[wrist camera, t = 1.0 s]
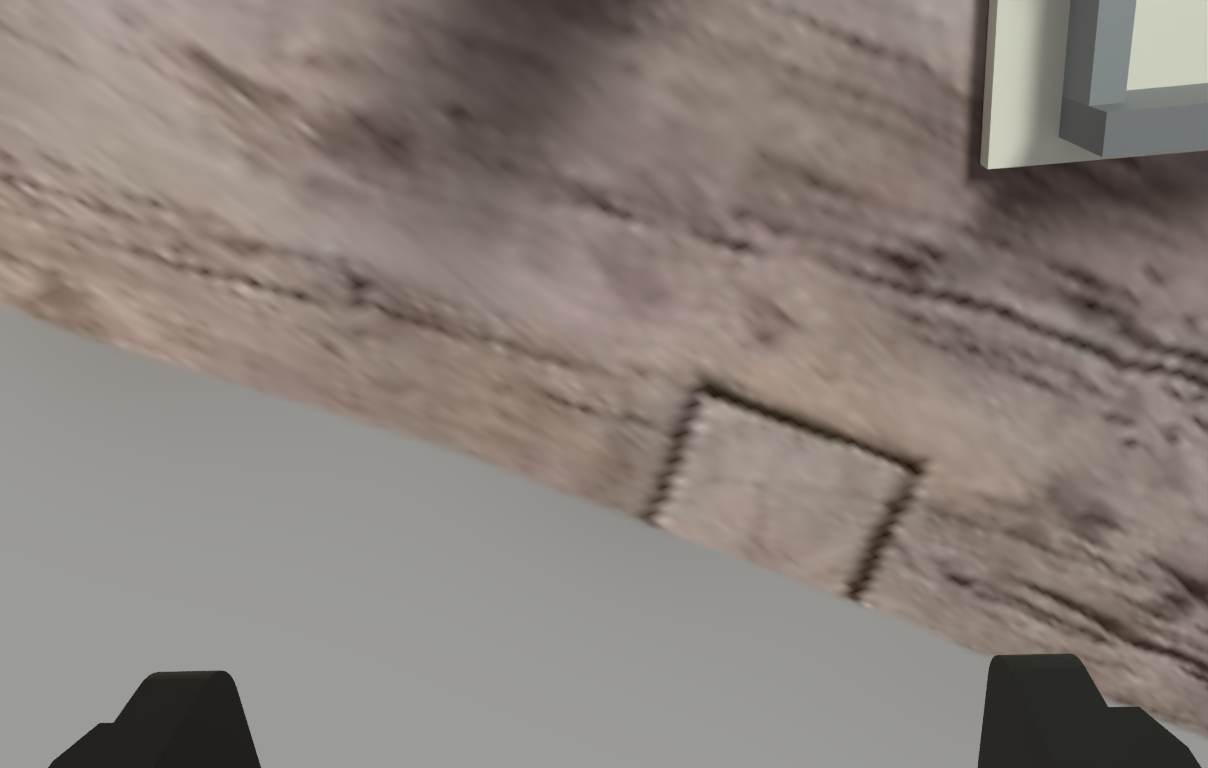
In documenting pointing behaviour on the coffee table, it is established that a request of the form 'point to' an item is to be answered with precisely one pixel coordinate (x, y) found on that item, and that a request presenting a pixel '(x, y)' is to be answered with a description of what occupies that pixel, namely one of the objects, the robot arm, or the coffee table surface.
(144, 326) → the coffee table surface
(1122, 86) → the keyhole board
